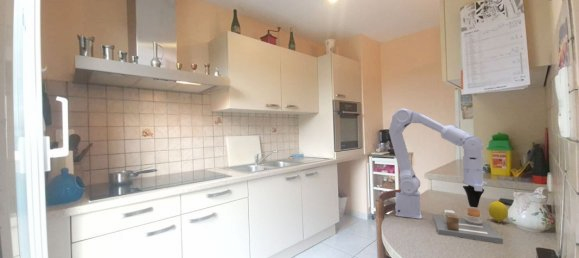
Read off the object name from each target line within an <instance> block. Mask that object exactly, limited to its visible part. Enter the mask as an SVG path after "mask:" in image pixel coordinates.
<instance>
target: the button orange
mask: <svg viewBox="0 0 579 258" xmlns="http://www.w3.org/2000/svg"><path fill="white" fill-rule="evenodd" d="M466 212H467V215H468V217H474V218H478V217H479V218H480V217H481V212H480V209H477V208H475V207H468V208H467V211H466Z"/></svg>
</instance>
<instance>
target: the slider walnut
mask: <svg viewBox="0 0 579 258" xmlns="http://www.w3.org/2000/svg"><path fill="white" fill-rule="evenodd" d="M446 218H447V228H448V229H452V230H459V218H460V217H458V215H456V214H455V215H449V214H446Z"/></svg>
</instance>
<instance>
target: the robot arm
mask: <svg viewBox="0 0 579 258" xmlns="http://www.w3.org/2000/svg"><path fill="white" fill-rule="evenodd" d="M411 124H421V125H423V126H425V127H428V128H430V129H432V130H434V131H436V132H438V133H439V134H440V136H441V138H442V139H444V140H446V141H448V142H449V143H452V144H453V145H456V146H457V147H462V149H463V157H462V169H463V170H462V172H463V173H462V174H463V175H462V176H463V180H462V183H463V184H465V185H463V186H462V188H463V190H464V192H465V194H466V198H467V201H468V202H467V203H468V204H469V208H475V209H477V208H478V206H479V204H480V200H481V197H482V195H483V194H484V192H485V188H484V189H483V186H484V185H486V186H487V185H488V182H487V181H484V165H483V164H484V162H483V159H484V158H483V152H482V150H483V149H484V144H483V141H482V140H481V139H480V138H478V137H477V136H476V135H472V133H471V132H466V131H464V130H462V129H460V128H459V126H458V125H456V124H455V125H453V124H449V125H445V124H444V125H443V124H442V123H440V122H438V121H436V120H434V119H433V118H431V117H428V116H426V115H424V114H423V113H419V112H416V111H414V110H411V109H407V108H405V107H403V108H399V109H397V110H396V111H394V113H393V115H392V117H391V123H390V125H389V127H388V128H389V129H388V134H389V137H390V140H391V144H392V148H393V152H394V155H395V159H396V163H397V167H398V169H399V179H400V182H399V189H400V192H398V191H396V192H395V206H394V210H395V216H397V217H404V218H410V219H412V218H413V219H419V220H422V219H423V215H422V211H421V192H420V191H419V190H418V189H420V186H421V181H420V179H419V178H418V177H417V176H416V173H415V170H414V169H413V166H412V163H411V159H410V156H409V152H408V149H407V145H406V142H405V137H404V134H403V132H405V129H406V128H407V127H408V126H409V125H411Z"/></svg>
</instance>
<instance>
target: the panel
mask: <svg viewBox="0 0 579 258" xmlns="http://www.w3.org/2000/svg"><path fill="white" fill-rule="evenodd" d="M458 218H459V230H452V229H448V228H447V223H445V221H444V215H440V214H439V215H438V214H432V220H433V221H434V225H435V228H436V231H437V234H438V235H442V236H449V237H454V238H462V239H467V240H476V241H483V242H489V243H496V244H504V239H503V237H502V236H501V235H500V234H499V233H498V232H497V231H496V230H495V229H494V227H493V226H492V225H491V224H490V223H489V222H488V221H487V220H482V219H481V218H478V217H473V216H465V217H458Z"/></svg>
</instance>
